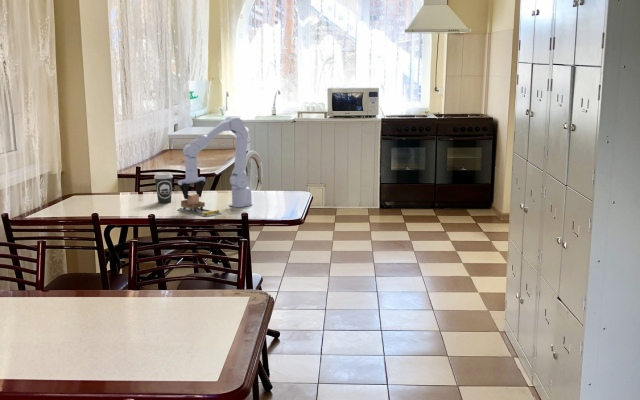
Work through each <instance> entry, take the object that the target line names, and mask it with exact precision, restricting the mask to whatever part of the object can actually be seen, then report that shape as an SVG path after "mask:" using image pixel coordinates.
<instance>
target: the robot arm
mask: <svg viewBox="0 0 640 400" xmlns="http://www.w3.org/2000/svg"><path fill="white" fill-rule="evenodd" d="M227 131H228V132H229V131H230V132H232V133H233V134H234V135H235V137H236V144H235V153H234V154H235V155H234V167H233V169H232V171H231V176H230V177H229V183H230V185H231V203H229V204H228V206H229V207H234V208H243V207H248V206H253V205H254V204H253V203H252V202H253V201H252V191H251V188H250V187H248V184H249V180H248V176H247V175H248V174H247V171H246V163H247V149H248V135H249V133H248V131H247V128H246V126H245V122H244V121H243V120H242V119H241V118H239V117H233V116H228V117H226V118H225V119H223V120H222V121H220V123H218V124H217V125H216V126H215V127H213V128H212V129H211V130H210V131H208V132H207V133H206V134H199V135H197V137H196V138H195V139H194V140H192V141H190V142H189V143H190V144H186V145H185V146H184V147H183V150H182V153H183V155H184V167H185V168H184V170H185V178H184V179H180V180H177V184H178V187H179V189H180V190H181V192H182V196H183V198H184V199H183V200H187V199H188V195H189V187H190V185H188V184H194V183H195V188H196V194H197V195H199V198H201V197H202V193H203V190H204V187H205V186H206V177H204V176H200V177H199V174H198V172H199V171H198V155H199V152H201V151H202V150H203V149H205V148H207V147H208V146H209V145H210V143H211V140H213V139H214V138H216V137H217V136H218V135H220V134H222V133H223V132H227Z"/></svg>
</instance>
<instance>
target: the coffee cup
mask: <svg viewBox="0 0 640 400" xmlns="http://www.w3.org/2000/svg"><path fill="white" fill-rule="evenodd" d="M173 177H174V176H173V174H172V172H166V171H165V172H164V171H163V172H156V173H155V174H154V177H153V179H154V182H155V186H156V187H155V188H156V197H157V202H158V204H170V203H172V193H173V192H172V190H173Z"/></svg>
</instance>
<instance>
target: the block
mask: <svg viewBox="0 0 640 400" xmlns="http://www.w3.org/2000/svg"><path fill="white" fill-rule="evenodd" d="M199 199H200V197H199V195H197V193H196V194H195V193H190V194H188V199H186V200H187V204H197V203H199V201H200V200H199Z"/></svg>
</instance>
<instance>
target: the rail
mask: <svg viewBox="0 0 640 400" xmlns="http://www.w3.org/2000/svg"><path fill="white" fill-rule="evenodd" d="M177 211H179V212H183V213H188V214H192V215H196V216H201V217H206V218H207V217H208V218H209V217H213V216H217V215H222V214H223V213H222V212H220V209H214V210H210V209H205V208H203V209H201V208H200V207H199V208H194V209H193V210H192V211H190V209H189V208H186V209H183V207H180V208H178V209H177Z"/></svg>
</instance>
